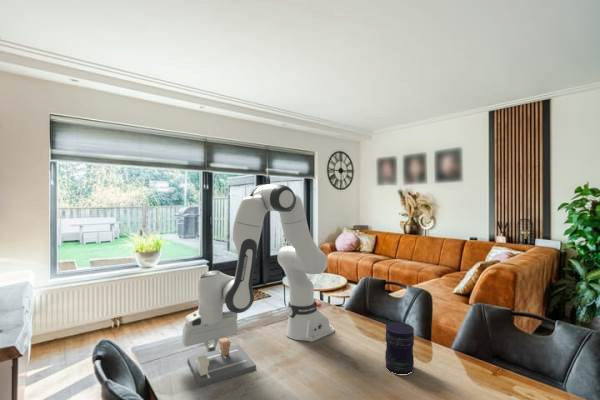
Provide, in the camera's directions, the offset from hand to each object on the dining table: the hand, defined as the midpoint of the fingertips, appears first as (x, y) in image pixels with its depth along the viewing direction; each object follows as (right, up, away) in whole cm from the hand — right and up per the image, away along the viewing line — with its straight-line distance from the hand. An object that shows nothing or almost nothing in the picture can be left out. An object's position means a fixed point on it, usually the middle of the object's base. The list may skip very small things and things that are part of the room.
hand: (211, 351), depth 118 cm
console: (+4, -4, -3) cm, 6 cm away
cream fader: (0, -2, -10) cm, 11 cm away
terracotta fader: (+4, -2, +3) cm, 6 cm away
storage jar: (+70, -4, -4) cm, 70 cm away
